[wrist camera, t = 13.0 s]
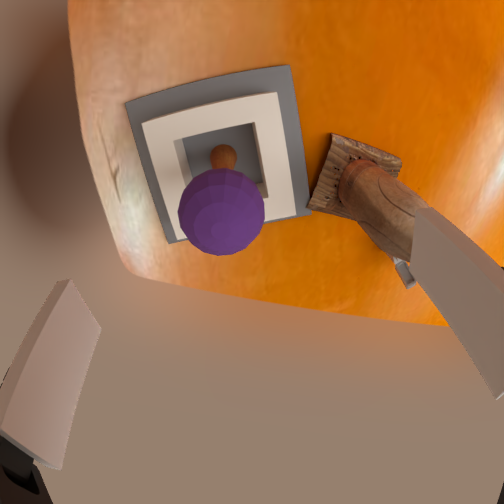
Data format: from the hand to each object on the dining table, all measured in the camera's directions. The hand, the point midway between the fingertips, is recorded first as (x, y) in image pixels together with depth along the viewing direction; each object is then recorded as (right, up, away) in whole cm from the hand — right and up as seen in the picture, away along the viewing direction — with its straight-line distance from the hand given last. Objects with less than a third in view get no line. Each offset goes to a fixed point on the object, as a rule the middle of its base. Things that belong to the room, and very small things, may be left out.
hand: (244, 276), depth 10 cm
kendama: (-3, +12, +25) cm, 28 cm away
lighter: (+22, +2, +35) cm, 41 cm away
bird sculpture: (+14, +11, +29) cm, 34 cm away
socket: (-3, +13, +26) cm, 29 cm away
